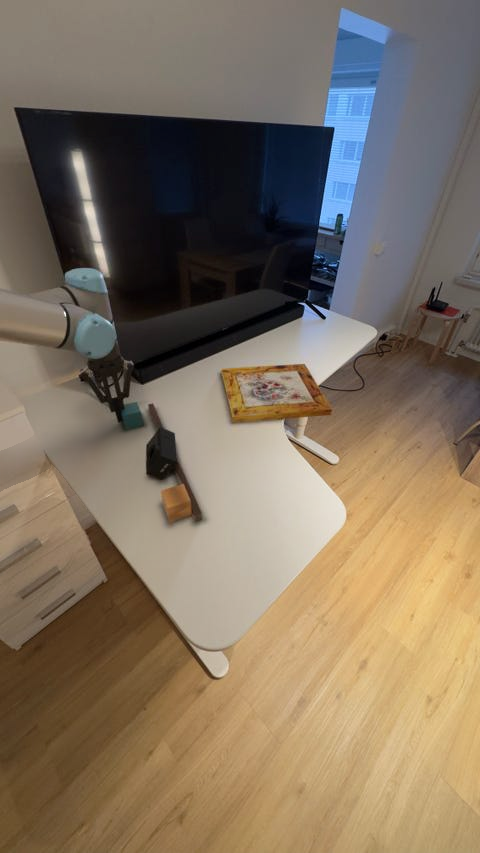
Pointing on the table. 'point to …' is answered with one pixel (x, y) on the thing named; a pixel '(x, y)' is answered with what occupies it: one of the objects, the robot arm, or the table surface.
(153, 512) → the table surface
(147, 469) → the digital camera
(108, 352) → the robot arm
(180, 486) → the oak block
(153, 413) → the rail
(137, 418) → the teal block
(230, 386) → the picture frame
